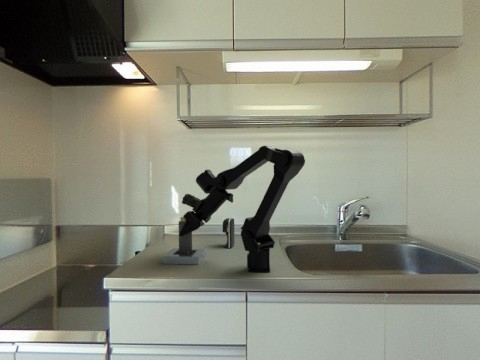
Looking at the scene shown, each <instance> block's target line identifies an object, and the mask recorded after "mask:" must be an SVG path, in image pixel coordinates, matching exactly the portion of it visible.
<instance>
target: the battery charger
mask: <svg viewBox="0 0 480 360" xmlns="http://www.w3.org/2000/svg"><path fill="white" fill-rule="evenodd" d="M222 233H225V235H226V244H224V245H223V246H224V248H225V249H231V248H233V247H234V245H235V218H233V217H230V218H225V219H224V220H223V221H222Z"/></svg>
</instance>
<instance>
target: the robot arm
mask: <svg viewBox="0 0 480 360" xmlns="http://www.w3.org/2000/svg"><path fill="white" fill-rule="evenodd" d="M268 162H269V163H272V164H273V175H272V176H273V177H272V179H271V180H270V183H269V185H268V187H267V190H266V192H265V193H264V196H263V197H262V200H261V202H260V204H259V206H258V208H257V209H256V212H255V215H254V216H250V217H246V218H245V219H244V222H243V225H242V226H241V227H240V230H241V232H240V237H241V240H242V243H243V247H244V251H246V252H247V255H246V257H247V258H246V267H247V269H248V270H247V272H251V273H253V272H255V273H258V272H259V273H265V272H266V273H270V272H271V265H270V263H271V261H270V260H271V257H270V256H271V254H270V253H271V251H270V249H274V247H275V243H276V242H275V241H274V238H272V236H271V235H270V230H271V226H270V221H271V219H272V217H273V215H274V214H275V213H274V212H275V211H276V209H277V207H278V205H279V203H280V201H281V199H282V197H283V195H284V192H285V191H286V189H287V188H288V187H287V186H288V185H289V184H290V182H291V180H293V179H294V178H295V177H296V176H298V174H299V173H300V171H301V170H302V169H303V167H304V165H305V163H306V158H305V156H304V154H303V152H301V151H299V150H293V149H279V148H277V147H274V146H269V145H263V146H260V147H259V148H258V150H256V151H255V152H253V153H252V154H251V155H250V156H248V157H246V158H245V159H244V160H242V161H241V162H240V163H239V164H238V165H236V166H234V167H231V168H229V169H226V170H223V171H221V172H219V173H218V174H217V175H216V176H215V175H214V174H213V171H212V170H211V169H205V170H204V171H203V172H201V173H200V174H198V175H197V177H196V179H195V183H196V184H197V186H198V187H200V188H201V189H200V190H202V191H203V192H204V194H207V196H206V197H204V198H202V199H200V198H198V197H196V196H194V195H192V194H190V193H185V194H184V196H183V197H182V200H181V203H182V205H186V206H188V207H190V208H192V209H191V210H189V211H186V213H184V215H182V217H184V218H185V220H186V223H185V224H184V226H183V228H182V229H181V231H180V233H179V232H178V237H179V236H180V237H181V236H183V235H186V234H188V233H190V232H192V233H193V232H195V231H197V230H199V229H200V228H201V227H203V226H205V224H207V223H209V221H210V220H212V215H213V214H214V213H216V212H217V211H218V210H219V209H220V207H221V206H222V205H223V204H225V203H226V201H228V202H230V203H231V204H233V202H234V193H232V192H228V191H229V190H236V189H238V188H239V187H240V186H241V185H242V184H243V182H244V180H245V178H247V177H248V176H249V175H250V174H252V173H254V172H255V171H257V170H258V169H259V168H261V167H262V166H264V165H266V164H267V163H268ZM227 190H228V191H227Z"/></svg>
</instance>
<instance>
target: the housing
mask: <svg viewBox="0 0 480 360" xmlns="http://www.w3.org/2000/svg"><path fill="white" fill-rule="evenodd" d="M206 257H207V248H192V254H189V255H180V254H179V247H174V248H172V249H170V250H169V251H168V252H167V253H165V254H163V255H162V264H163V265H164V264H165V265H166V264H167V265H197V266H198V265H200V263H201V262H202V261H203V260H204V259H205V258H206Z"/></svg>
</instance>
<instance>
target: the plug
mask: <svg viewBox="0 0 480 360" xmlns="http://www.w3.org/2000/svg"><path fill="white" fill-rule="evenodd" d="M179 219H180V221H178V234H179V233H180V231H181V229H182V228H183V226H184V224H185V223H186V220H185V218H184V217H183V216H181V217H180V218H179ZM178 248H179V254H180V255H189V254H192V249H193V231H192V232H190V233H188V234H186V235H183V236H181V237H180V236H179V235H178Z"/></svg>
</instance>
